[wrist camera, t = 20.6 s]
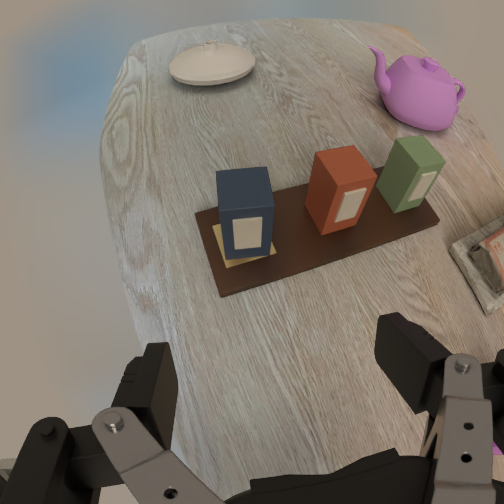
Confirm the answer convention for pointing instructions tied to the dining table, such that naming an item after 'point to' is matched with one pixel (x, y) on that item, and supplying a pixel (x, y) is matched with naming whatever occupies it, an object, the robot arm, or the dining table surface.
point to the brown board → (306, 238)
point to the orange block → (338, 188)
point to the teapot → (418, 91)
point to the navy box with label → (245, 212)
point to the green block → (409, 172)
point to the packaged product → (483, 263)
